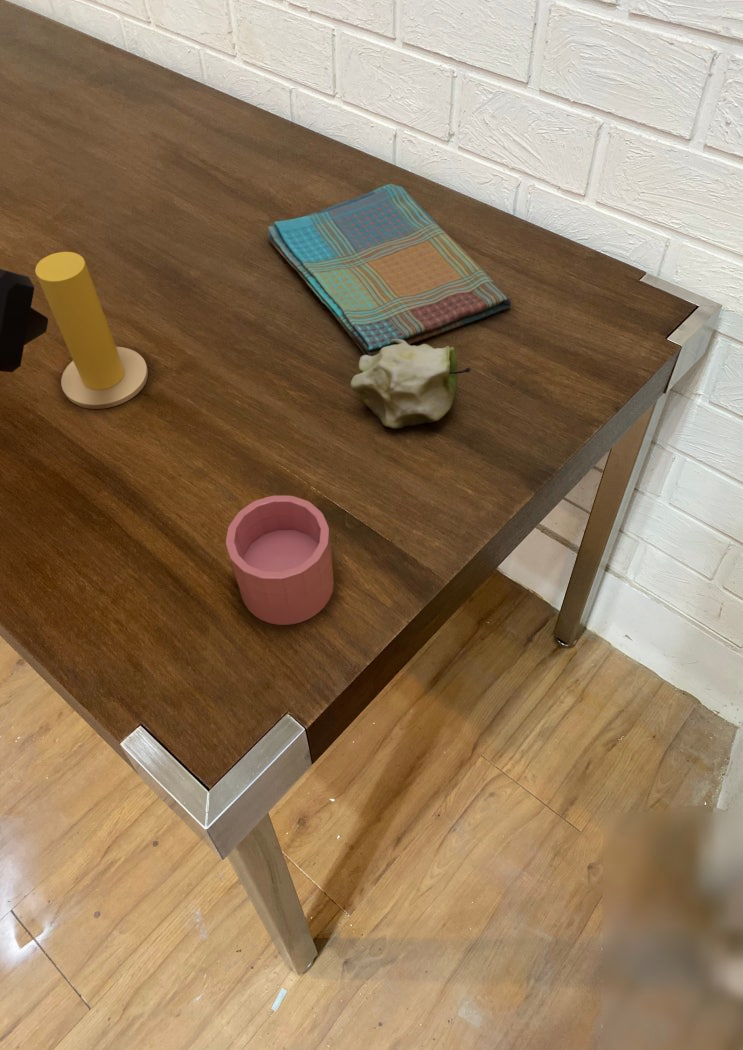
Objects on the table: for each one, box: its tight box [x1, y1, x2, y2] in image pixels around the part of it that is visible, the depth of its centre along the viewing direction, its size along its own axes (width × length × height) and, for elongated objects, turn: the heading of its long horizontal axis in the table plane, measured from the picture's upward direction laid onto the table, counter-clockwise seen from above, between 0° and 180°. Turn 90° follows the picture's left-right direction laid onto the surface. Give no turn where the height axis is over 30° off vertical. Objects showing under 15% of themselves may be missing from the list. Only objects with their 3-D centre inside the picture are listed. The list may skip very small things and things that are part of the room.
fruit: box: [350, 339, 472, 430], centre depth 69 cm, size 9×9×8 cm
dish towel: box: [266, 183, 512, 356], centre depth 82 cm, size 17×23×2 cm
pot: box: [225, 495, 335, 626], centre depth 57 cm, size 7×7×6 cm
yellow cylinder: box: [34, 251, 125, 390], centre depth 69 cm, size 4×4×12 cm
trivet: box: [60, 346, 149, 410], centre depth 74 cm, size 8×8×1 cm
